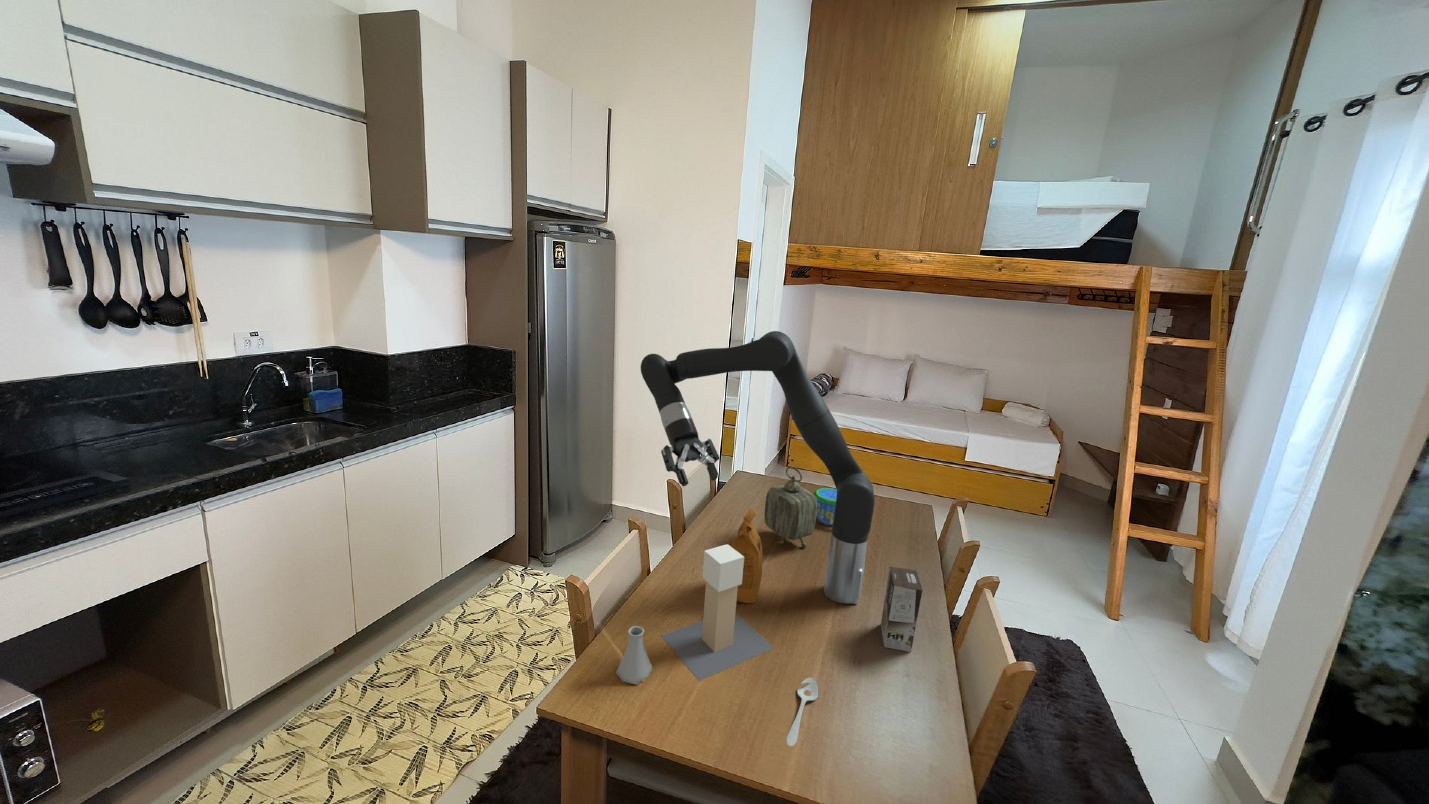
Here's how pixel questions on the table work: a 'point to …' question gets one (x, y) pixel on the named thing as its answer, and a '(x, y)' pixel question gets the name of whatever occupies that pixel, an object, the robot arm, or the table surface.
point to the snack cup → (826, 505)
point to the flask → (634, 659)
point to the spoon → (796, 724)
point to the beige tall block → (719, 617)
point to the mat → (710, 662)
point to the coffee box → (901, 608)
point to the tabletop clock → (791, 510)
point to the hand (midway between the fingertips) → (700, 482)
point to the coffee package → (749, 559)
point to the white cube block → (723, 567)
